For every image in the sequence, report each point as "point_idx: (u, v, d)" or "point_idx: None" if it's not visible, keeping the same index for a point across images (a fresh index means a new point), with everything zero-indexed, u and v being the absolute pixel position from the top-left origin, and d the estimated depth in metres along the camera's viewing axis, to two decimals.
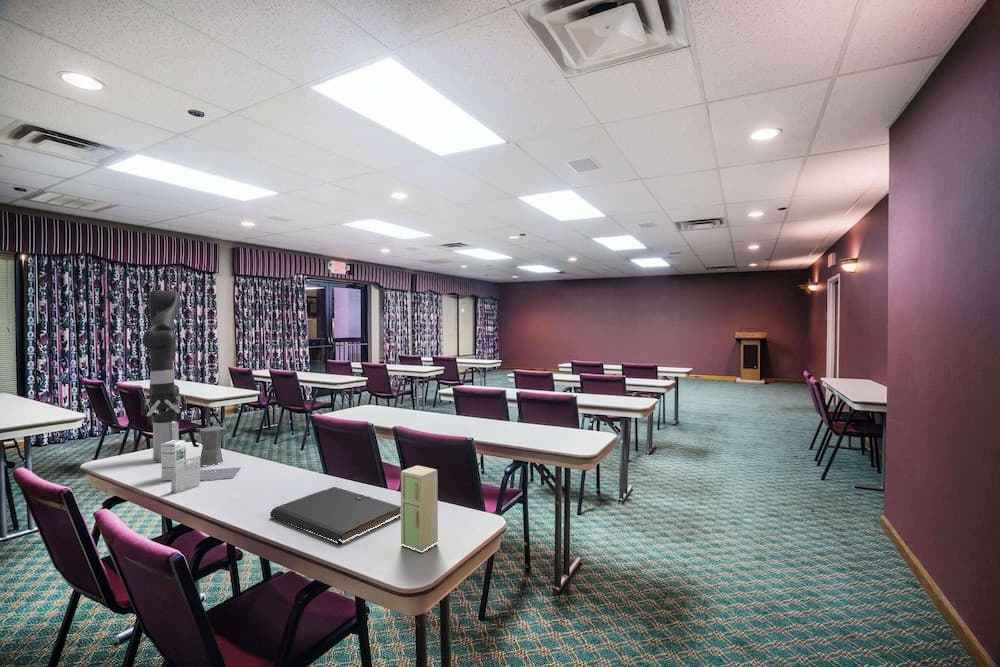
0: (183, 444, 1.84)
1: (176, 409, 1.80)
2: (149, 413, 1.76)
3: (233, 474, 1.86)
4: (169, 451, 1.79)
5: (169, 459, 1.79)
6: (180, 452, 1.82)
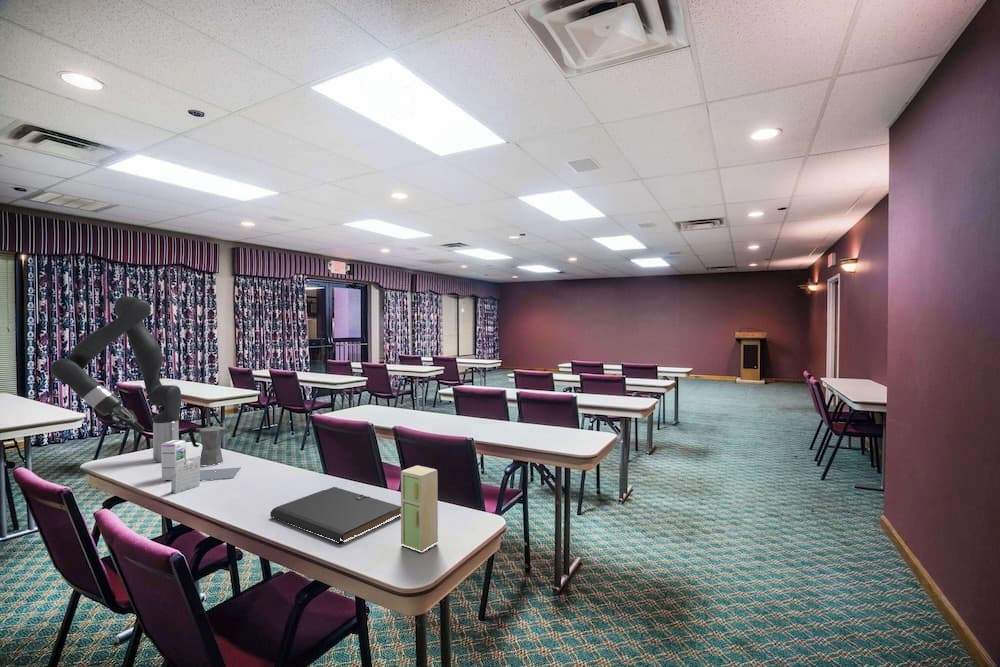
0: (183, 444, 1.84)
1: None
2: None
3: (233, 474, 1.86)
4: (169, 451, 1.79)
5: (169, 459, 1.79)
6: (180, 452, 1.82)
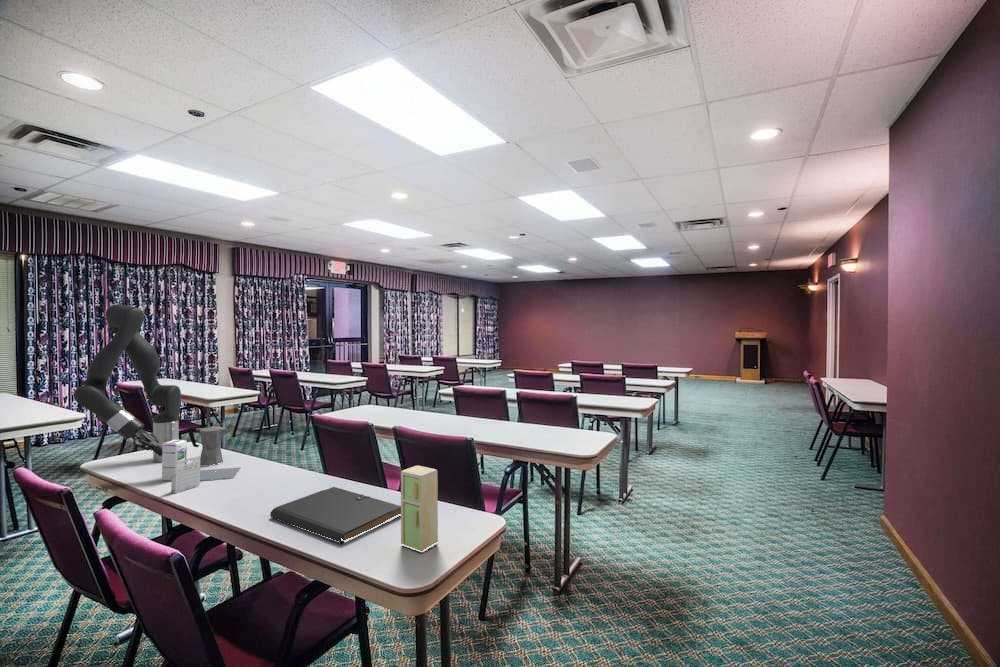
0: (184, 444, 1.84)
1: None
2: None
3: (233, 474, 1.86)
4: (170, 451, 1.79)
5: (170, 459, 1.79)
6: (181, 452, 1.82)
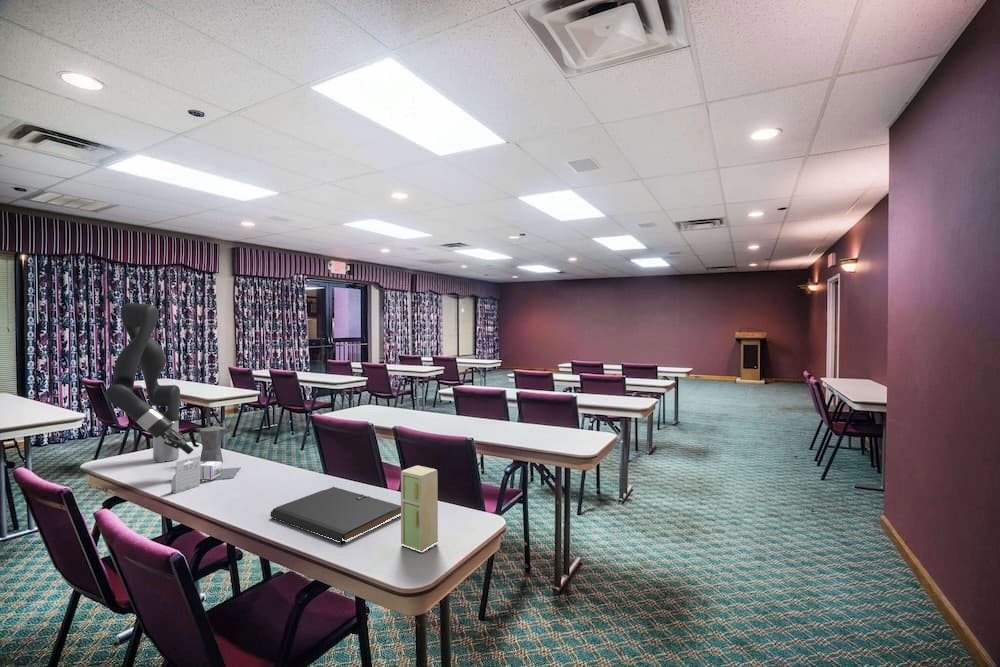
0: None
1: None
2: None
3: (233, 474, 1.86)
4: (204, 473, 1.79)
5: None
6: None
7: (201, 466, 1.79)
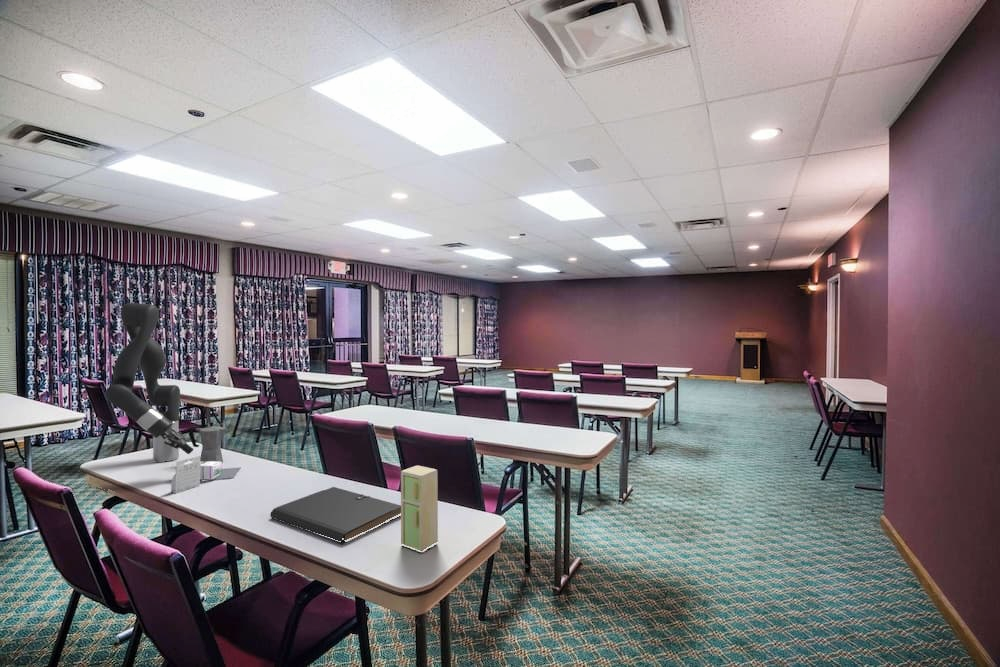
0: None
1: None
2: None
3: (233, 474, 1.86)
4: (204, 473, 1.79)
5: None
6: None
7: (201, 466, 1.79)
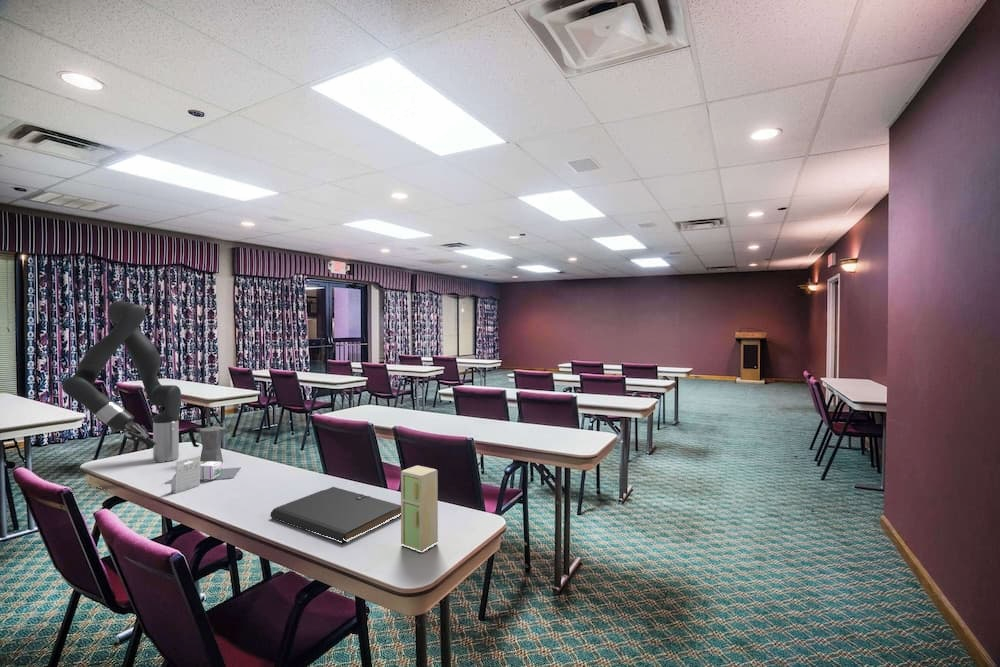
0: None
1: None
2: None
3: (233, 474, 1.86)
4: (204, 473, 1.79)
5: None
6: None
7: (201, 466, 1.79)
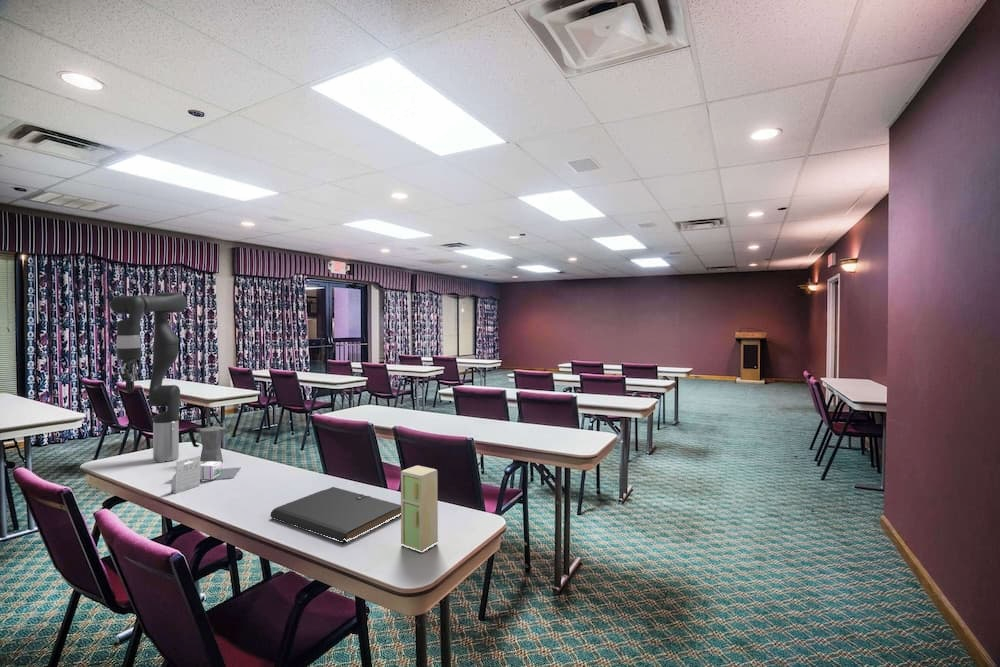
0: None
1: None
2: None
3: (233, 474, 1.86)
4: (204, 473, 1.79)
5: None
6: None
7: (201, 466, 1.79)
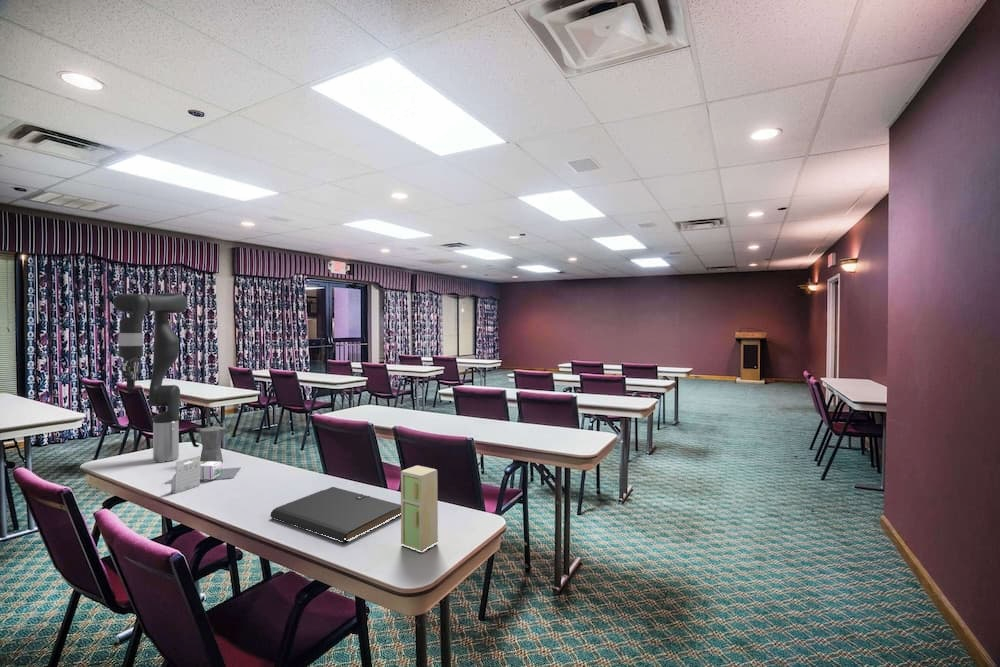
0: None
1: None
2: None
3: (233, 474, 1.86)
4: (204, 473, 1.79)
5: None
6: None
7: (201, 466, 1.79)
